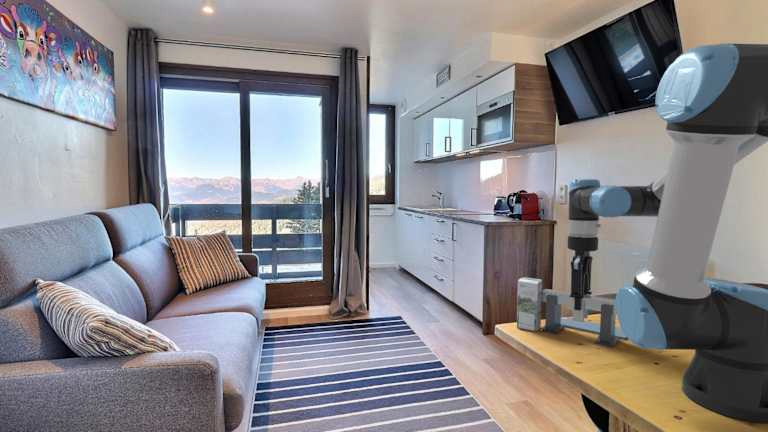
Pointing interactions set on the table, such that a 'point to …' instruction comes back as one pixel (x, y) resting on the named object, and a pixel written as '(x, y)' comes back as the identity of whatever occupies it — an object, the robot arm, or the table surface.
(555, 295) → the rail
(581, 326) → the mat
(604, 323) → the post near
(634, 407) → the table surface
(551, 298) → the post far
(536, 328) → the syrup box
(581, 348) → the table surface
